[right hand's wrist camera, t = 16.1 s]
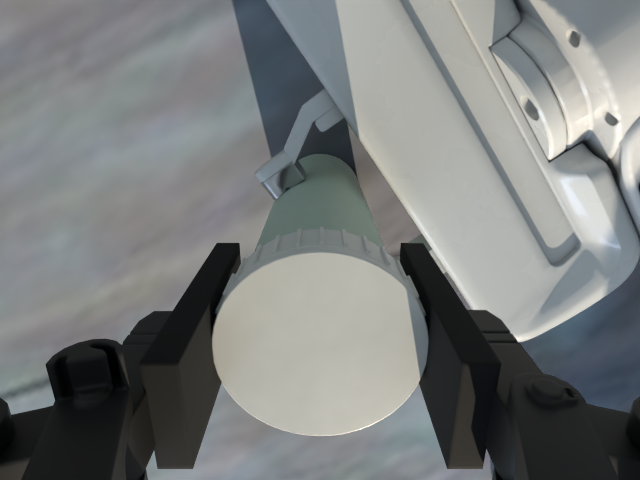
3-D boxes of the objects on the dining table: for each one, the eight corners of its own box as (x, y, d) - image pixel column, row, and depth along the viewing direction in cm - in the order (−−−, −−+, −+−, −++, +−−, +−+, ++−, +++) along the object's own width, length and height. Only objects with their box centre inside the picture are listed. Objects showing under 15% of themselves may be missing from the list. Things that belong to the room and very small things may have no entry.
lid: (228, 396, 13) (216, 437, 12) (215, 224, 11) (198, 246, 10) (409, 398, 13) (421, 440, 12) (427, 226, 11) (444, 249, 10)
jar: (264, 185, 26) (188, 323, 11) (328, 136, 25) (341, 215, 10) (312, 244, 27) (303, 440, 12) (374, 200, 26) (448, 355, 11)
